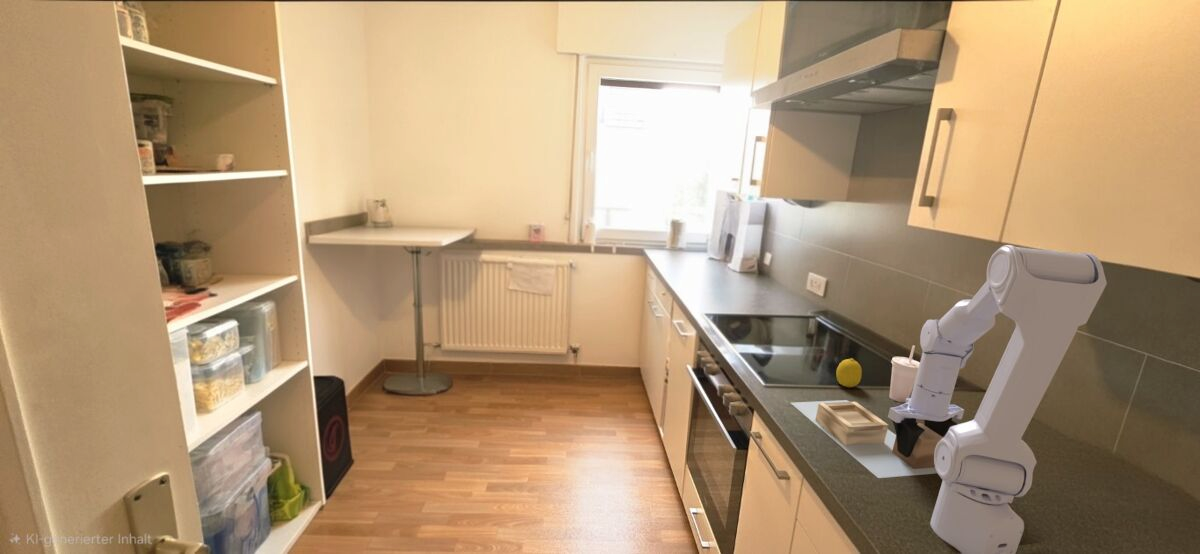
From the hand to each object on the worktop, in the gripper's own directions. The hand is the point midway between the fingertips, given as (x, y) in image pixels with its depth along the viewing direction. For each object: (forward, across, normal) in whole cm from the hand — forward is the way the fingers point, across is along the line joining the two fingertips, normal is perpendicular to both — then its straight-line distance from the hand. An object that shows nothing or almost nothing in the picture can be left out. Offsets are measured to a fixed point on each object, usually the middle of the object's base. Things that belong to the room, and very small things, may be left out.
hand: (915, 453), depth 88 cm
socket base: (+1, +6, -10) cm, 12 cm away
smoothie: (+2, -19, -23) cm, 30 cm away
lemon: (+2, -9, -29) cm, 30 cm away
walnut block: (+1, 0, 0) cm, 1 cm away
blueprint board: (+2, +4, -9) cm, 10 cm away
